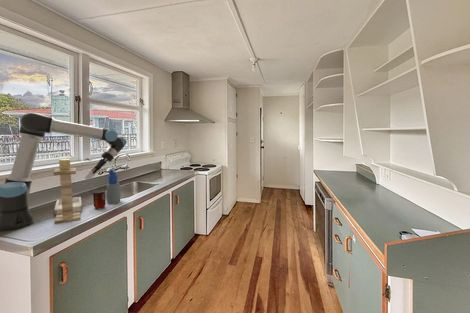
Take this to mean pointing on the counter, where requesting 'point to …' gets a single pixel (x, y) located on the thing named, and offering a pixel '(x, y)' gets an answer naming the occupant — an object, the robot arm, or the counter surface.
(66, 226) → the counter surface
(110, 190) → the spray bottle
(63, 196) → the stand
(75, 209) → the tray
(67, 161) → the wooden block
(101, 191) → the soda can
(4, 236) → the counter surface
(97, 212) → the counter surface
